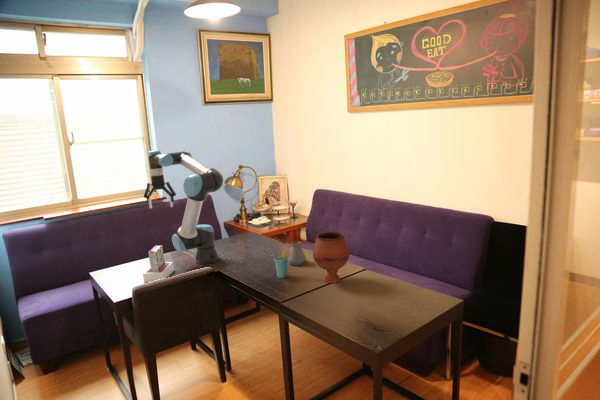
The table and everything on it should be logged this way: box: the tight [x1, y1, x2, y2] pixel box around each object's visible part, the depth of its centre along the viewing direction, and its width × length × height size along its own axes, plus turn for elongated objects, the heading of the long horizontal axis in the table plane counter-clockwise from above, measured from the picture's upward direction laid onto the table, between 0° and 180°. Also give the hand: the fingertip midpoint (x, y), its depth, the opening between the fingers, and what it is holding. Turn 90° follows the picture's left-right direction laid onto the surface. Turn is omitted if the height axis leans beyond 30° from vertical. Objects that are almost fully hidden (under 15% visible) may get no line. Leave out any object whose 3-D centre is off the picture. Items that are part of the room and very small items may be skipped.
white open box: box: [142, 261, 175, 284], centre depth 238 cm, size 11×17×6 cm, turn 179°
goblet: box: [312, 231, 350, 284], centre depth 215 cm, size 19×19×25 cm
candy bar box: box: [148, 245, 166, 272], centre depth 236 cm, size 11×5×16 cm, turn 1°
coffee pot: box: [272, 236, 307, 266], centre depth 247 cm, size 21×12×15 cm, turn 60°
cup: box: [270, 249, 290, 279], centre depth 225 cm, size 14×8×15 cm, turn 141°
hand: (161, 207), depth 263 cm, fingers open, 13 cm apart
